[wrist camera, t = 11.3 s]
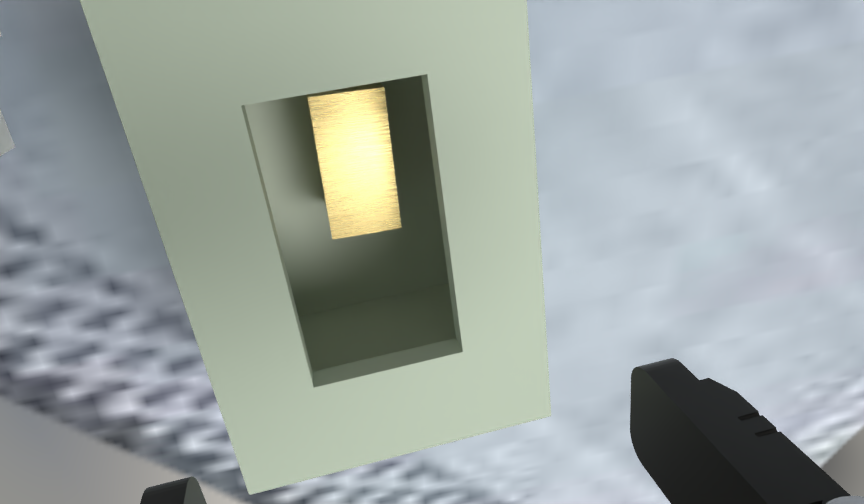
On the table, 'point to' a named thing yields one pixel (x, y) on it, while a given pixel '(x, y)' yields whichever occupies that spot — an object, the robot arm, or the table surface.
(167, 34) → the box
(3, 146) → the napkin holder
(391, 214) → the tan brushed block
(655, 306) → the table surface
